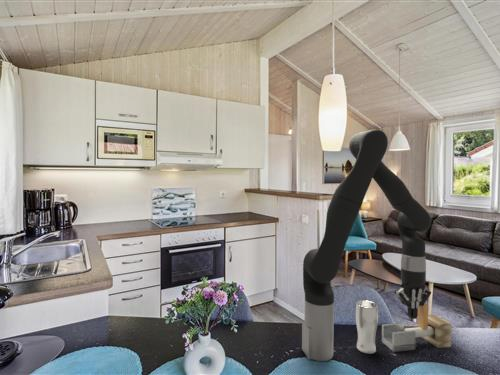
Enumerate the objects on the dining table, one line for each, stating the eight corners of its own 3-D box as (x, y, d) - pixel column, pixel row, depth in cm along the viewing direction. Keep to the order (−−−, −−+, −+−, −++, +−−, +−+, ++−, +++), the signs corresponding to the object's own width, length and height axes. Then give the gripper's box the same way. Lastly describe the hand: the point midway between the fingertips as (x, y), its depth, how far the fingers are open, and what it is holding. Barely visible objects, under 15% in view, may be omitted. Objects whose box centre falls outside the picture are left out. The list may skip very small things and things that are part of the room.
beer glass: (353, 350, 96) (354, 305, 96) (356, 341, 102) (357, 298, 102) (376, 357, 92) (377, 310, 92) (378, 346, 99) (378, 302, 99)
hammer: (410, 339, 98) (410, 305, 98) (404, 335, 101) (404, 302, 101) (440, 336, 101) (441, 303, 101) (433, 332, 104) (434, 300, 104)
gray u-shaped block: (393, 351, 95) (394, 333, 95) (381, 341, 102) (382, 324, 102) (415, 349, 97) (415, 331, 97) (402, 339, 103) (402, 322, 103)
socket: (438, 348, 98) (438, 324, 98) (422, 337, 105) (422, 315, 105) (450, 346, 99) (451, 323, 99) (434, 336, 106) (434, 314, 106)
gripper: (403, 271, 95) (403, 324, 95) (438, 270, 98) (438, 321, 98) (388, 265, 103) (388, 314, 103) (421, 264, 105) (421, 312, 105)
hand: (412, 317), depth 100 cm, fingers closed
